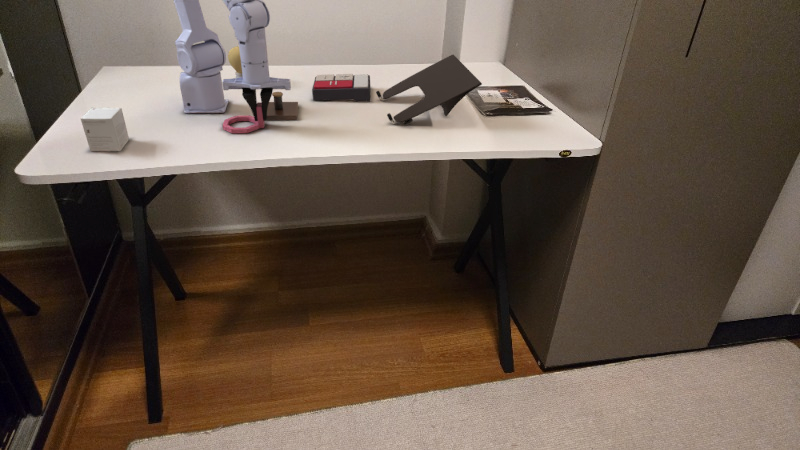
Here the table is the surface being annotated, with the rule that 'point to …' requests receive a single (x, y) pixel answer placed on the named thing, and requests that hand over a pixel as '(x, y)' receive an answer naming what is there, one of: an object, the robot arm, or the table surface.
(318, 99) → the button keypad
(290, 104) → the stand
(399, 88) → the laptop tray
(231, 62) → the light bulb
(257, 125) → the pink octagonal frame
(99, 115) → the product box
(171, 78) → the table surface
